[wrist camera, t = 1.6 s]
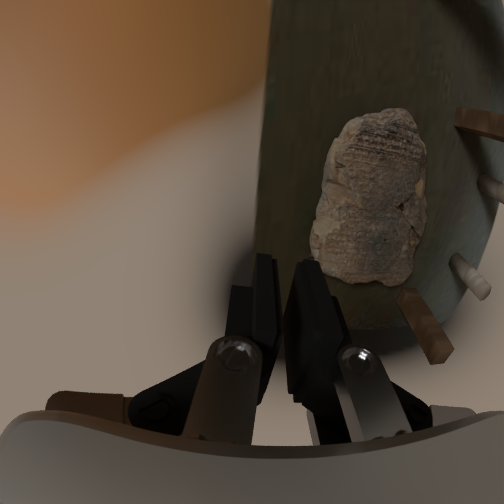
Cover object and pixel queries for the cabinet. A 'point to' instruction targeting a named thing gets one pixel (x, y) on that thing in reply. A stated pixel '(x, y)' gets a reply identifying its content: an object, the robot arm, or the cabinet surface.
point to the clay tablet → (372, 200)
